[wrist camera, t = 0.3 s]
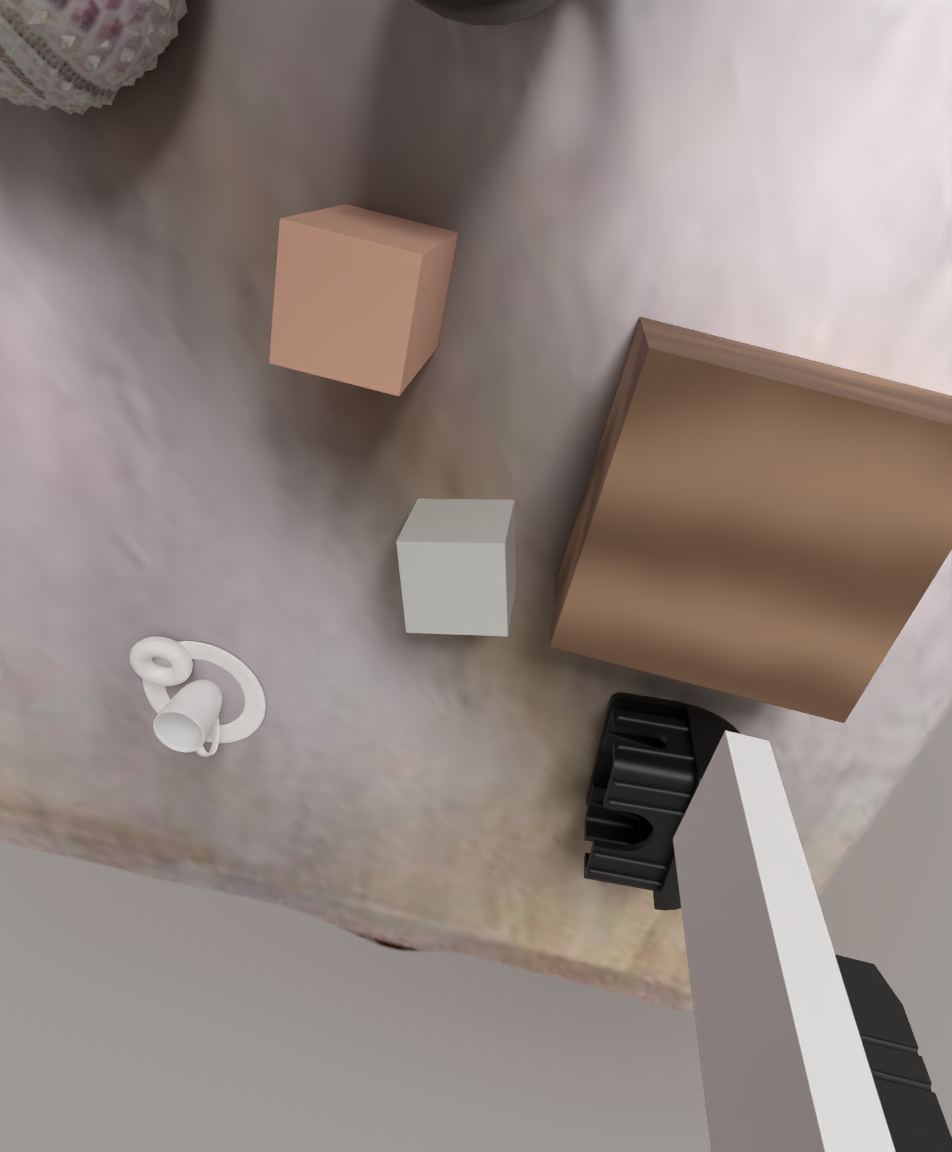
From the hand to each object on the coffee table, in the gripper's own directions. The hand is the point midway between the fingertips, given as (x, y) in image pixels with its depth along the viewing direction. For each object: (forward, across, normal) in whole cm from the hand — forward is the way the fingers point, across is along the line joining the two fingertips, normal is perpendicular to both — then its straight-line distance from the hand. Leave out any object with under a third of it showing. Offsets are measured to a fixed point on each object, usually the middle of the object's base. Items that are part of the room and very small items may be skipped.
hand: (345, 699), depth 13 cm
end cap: (+25, +14, -21) cm, 36 cm away
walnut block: (+25, +13, -4) cm, 28 cm away
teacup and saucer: (+26, -13, -21) cm, 36 cm away
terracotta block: (+25, -5, +3) cm, 26 cm away
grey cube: (+25, 0, -9) cm, 27 cm away
